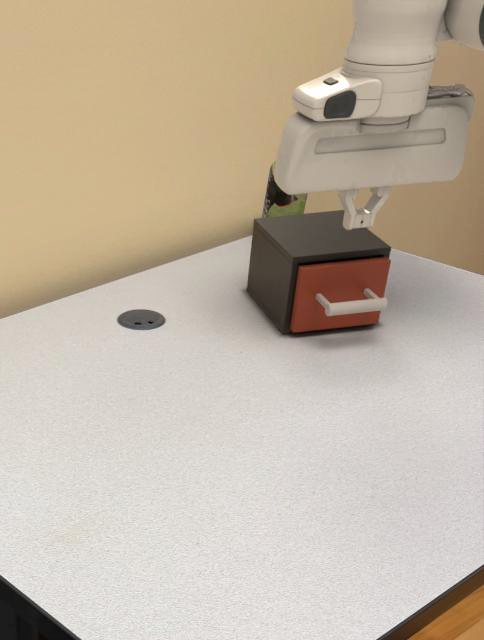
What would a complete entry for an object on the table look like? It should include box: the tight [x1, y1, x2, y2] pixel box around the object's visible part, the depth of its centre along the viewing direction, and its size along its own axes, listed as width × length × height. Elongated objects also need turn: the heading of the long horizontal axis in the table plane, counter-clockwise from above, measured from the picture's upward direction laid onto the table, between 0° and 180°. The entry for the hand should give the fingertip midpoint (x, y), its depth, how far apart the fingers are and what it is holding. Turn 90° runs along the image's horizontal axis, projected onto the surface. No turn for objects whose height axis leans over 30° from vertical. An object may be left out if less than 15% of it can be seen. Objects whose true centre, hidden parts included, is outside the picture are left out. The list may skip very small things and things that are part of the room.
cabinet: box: [246, 209, 392, 335], centre depth 115 cm, size 15×12×10 cm
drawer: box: [290, 255, 392, 333], centre depth 111 cm, size 18×11×8 cm, turn 8°
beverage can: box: [261, 159, 309, 218], centre depth 133 cm, size 6×7×12 cm
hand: (357, 227), depth 101 cm, fingers closed
